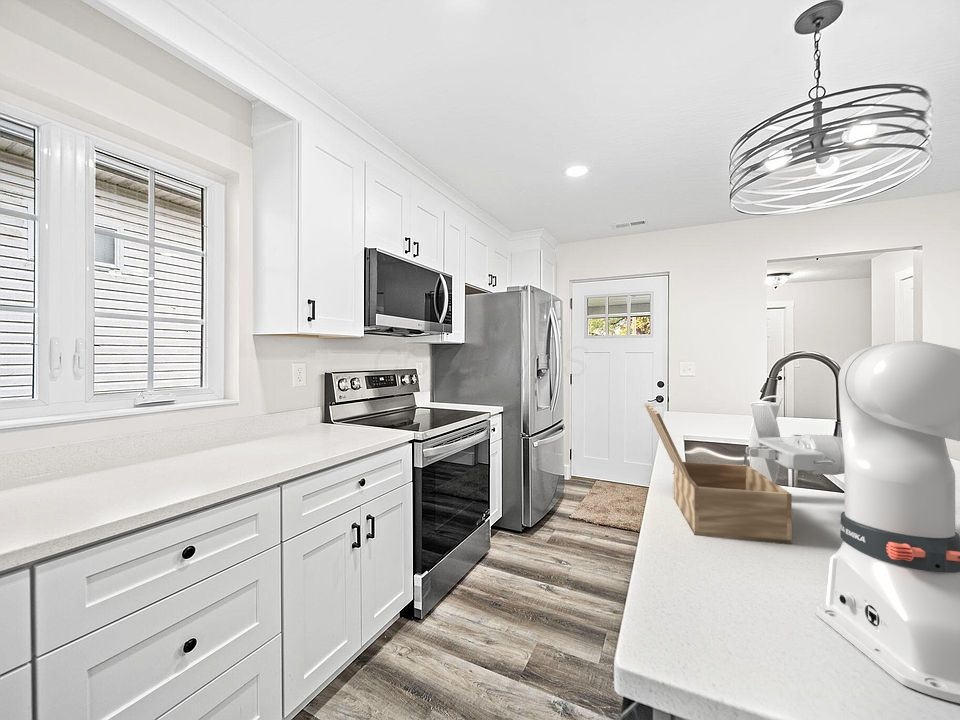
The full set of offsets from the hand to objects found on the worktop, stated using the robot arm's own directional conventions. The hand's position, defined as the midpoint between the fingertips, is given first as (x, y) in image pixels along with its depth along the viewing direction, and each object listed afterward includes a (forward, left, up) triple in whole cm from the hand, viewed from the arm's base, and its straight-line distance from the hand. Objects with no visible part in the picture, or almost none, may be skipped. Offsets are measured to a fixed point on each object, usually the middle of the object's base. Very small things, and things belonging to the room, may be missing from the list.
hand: (747, 451), depth 103 cm
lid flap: (-2, +18, +3) cm, 18 cm away
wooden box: (-2, +6, -15) cm, 17 cm away
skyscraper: (+19, -9, -16) cm, 26 cm away
